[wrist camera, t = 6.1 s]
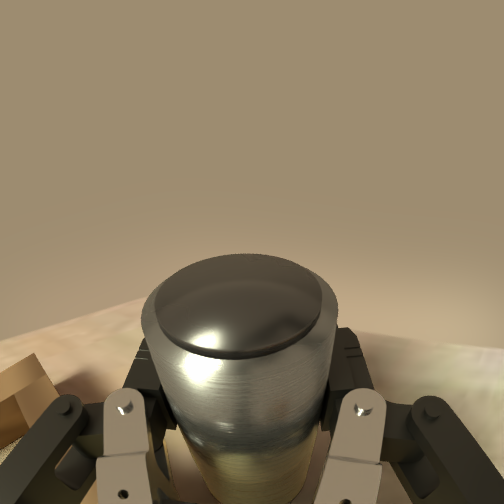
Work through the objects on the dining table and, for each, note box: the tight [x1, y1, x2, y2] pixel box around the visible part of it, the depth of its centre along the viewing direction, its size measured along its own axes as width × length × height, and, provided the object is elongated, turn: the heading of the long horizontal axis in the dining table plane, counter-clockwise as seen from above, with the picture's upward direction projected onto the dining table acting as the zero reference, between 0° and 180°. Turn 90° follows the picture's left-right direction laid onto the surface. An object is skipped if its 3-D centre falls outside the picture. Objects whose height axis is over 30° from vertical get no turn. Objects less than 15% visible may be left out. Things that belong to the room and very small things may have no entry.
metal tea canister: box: [141, 254, 338, 504], centre depth 10 cm, size 5×5×10 cm
